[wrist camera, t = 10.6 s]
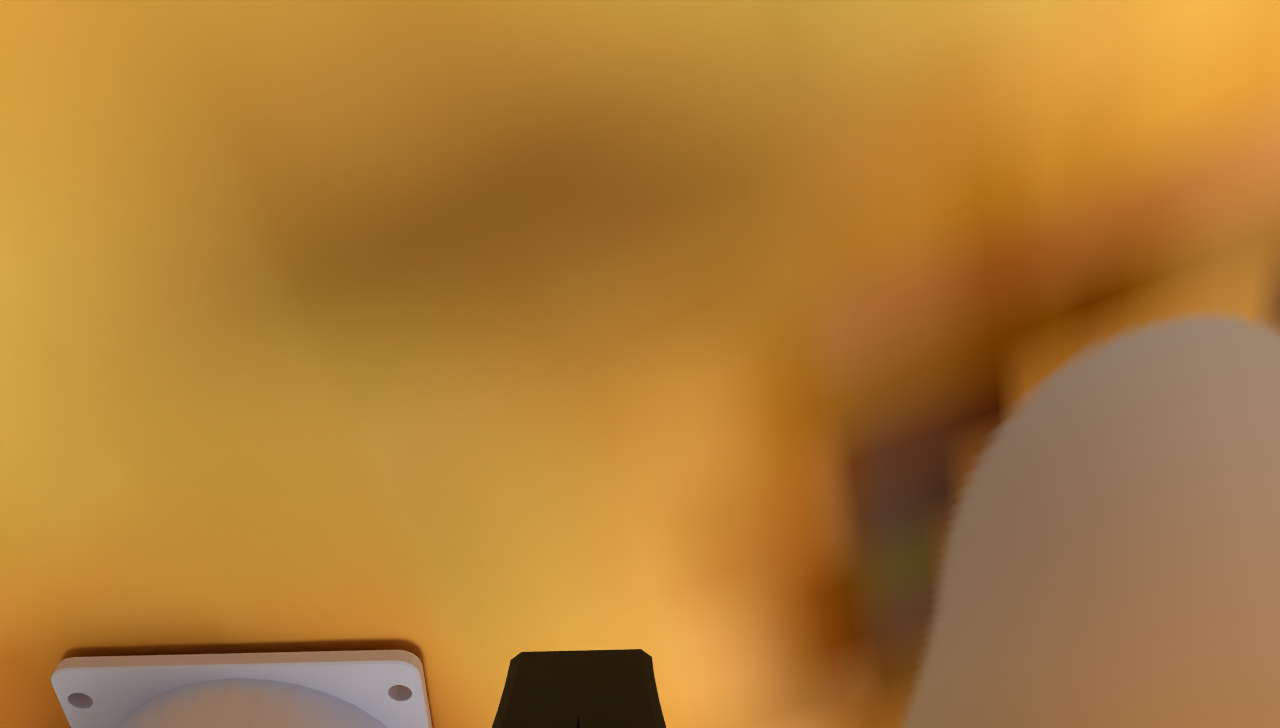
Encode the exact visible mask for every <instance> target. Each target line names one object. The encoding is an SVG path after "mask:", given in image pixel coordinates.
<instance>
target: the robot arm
mask: <svg viewBox="0 0 1280 728" xmlns="http://www.w3.org/2000/svg"><path fill="white" fill-rule="evenodd" d="M51 684H52V686H53V689H54V691H55V693H56V695H57V698H58V700H59V702H60V704H61V707H62V709H63V711H64V713H65V716H66V718H67V720H68V722H69V725H70V727H71V728H432V721H431V715H430V709H429V703H428V697H427V690H426V684H425V678H424V672H423V666H422V663H421V661H420V659H419V658H418V657H417V656H416V655H415V654H413V653H411V652H408V651H406V650H358V651H314V652H270V653H227V654H183V655H139V656H95V657H72V658H66V659H64V660H62V661H60V662H59V664H58V666H57V667H56V669H55V671H54V673H53V675H52V677H51ZM397 685H403V686H406V687H401V686H397ZM492 728H666V725H665V721H664V718H663V714H662V710H661V706H660V702H659V698H658V693H657V688H656V683H655V678H654V671H653V663H652V657H651V656H650V655H648V654H647V653H646V652H644V651H643V650H642V649H631V650H589V651H547V652H521V653H519V654H518V655H517V656H516V657H514V658H513V659H512V660H511V661H510V666H509V670H508V675H507V679H506V683H505V687H504V690H503V694H502V697H501V701H500V704H499V707H498V711H497V714H496V717H495V720H494V723H493V726H492Z"/></svg>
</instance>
